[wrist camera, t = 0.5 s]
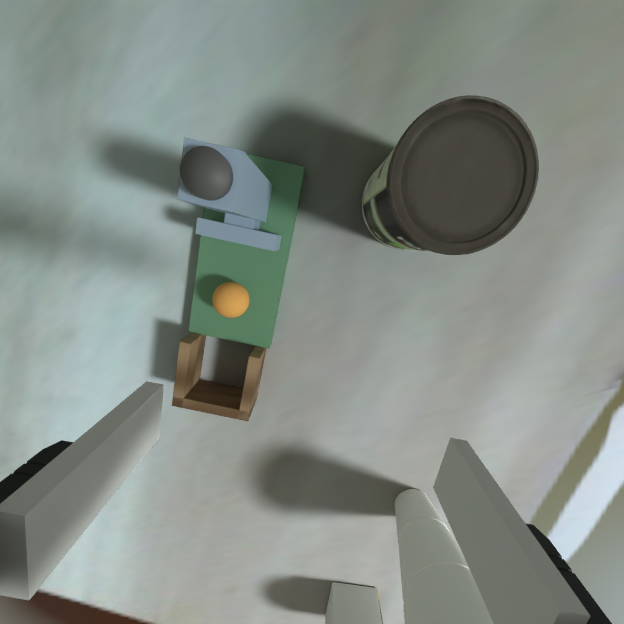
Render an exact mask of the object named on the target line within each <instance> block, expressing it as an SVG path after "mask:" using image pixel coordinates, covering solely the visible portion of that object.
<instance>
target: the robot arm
mask: <svg viewBox="0 0 624 624" xmlns="http://www.w3.org/2000/svg"><path fill="white" fill-rule="evenodd" d="M163 386H164V385H163V384H158V383H152V382H147V381H146V382H145V383H144V384H143V385H142V386H141V387H139V388H138V389H137V390H136V391H135V392H133V393H132V394H131V395H130V396H129V397H127V398H126V399H125V400H124V401H123V402H121V403H120V404H119V405H118V406H117V407H115V408H114V409H113V410H112V411H111V412H109V413H108V414H107V415H106V416H105V417H103V418H102V419H101V420H100V421H99V422H98V423H96V424H95V425H94V426H93V427H92V428H90V429H89V430H88V431H87V432H86V433H84V434H83V435H82V436H81V437H80V438H78V439H77V440H76V441H75V442H74V443H73V442H68V441H60V442H57V443H55V444H53V445H51V446H49V447H47V448H45V449H43V450H41V451H40V452H39V453H38V454H36V455H35V456H34V457H32V458H31V459H30V460H28V461H27V463H26V464H23V465H22V466H21V467H19V468H18V469H17V470H15V471H14V473H13V474H10V475H9V476H8V477H6V478H5V479H4V480H2V481H1V482H0V595H3V596H8V597H14V598H20V599H25V600H30V599H31V597H32V596H33V595H34V594H35V592H36V591H37V590H38V589H39V587H40V586H41V585H42V584H43V582H44V581H45V580H46V579H47V577H48V576H49V575H50V574H51V572H52V571H53V570H54V569H55V567H56V566H57V565H58V564H59V562H60V561H61V560H62V559H63V557H64V556H65V555H66V554H67V552H68V551H69V550H70V549H71V547H72V546H73V545H74V544H75V542H76V541H77V540H78V539H79V537H80V536H81V535H82V534H83V532H84V531H85V530H86V529H87V527H88V526H89V525H90V524H91V522H92V521H93V520H94V519H95V517H96V516H97V515H98V514H99V512H100V511H101V510H102V509H103V507H104V506H105V505H106V504H107V502H108V501H109V500H110V499H111V497H112V496H113V495H114V494H115V492H116V491H117V490H118V489H119V487H120V486H121V485H122V484H123V482H124V481H125V480H126V479H127V477H128V476H129V475H130V474H131V472H132V471H133V470H134V469H135V467H136V466H137V465H138V464H139V462H140V461H141V460H142V459H143V457H144V456H145V455H146V454H147V452H148V451H149V450H150V449H151V447H152V446H153V445H154V444H155V442H156V441H157V440H158V439H159V437H160V424H161V411H162V398H163ZM433 488H434V490H435V492H436V495H437V497H438V499H439V501H440V504H441V506H442V508H443V510H444V513H445V515H446V517H447V519H448V522H449V524H450V526H451V528H452V531H453V533H454V535H455V537H456V540H457V542H458V544H459V547H460V549H461V551H462V553H463V556H464V558H465V560H466V562H467V565H468V567H469V569H470V571H471V574H472V576H473V578H474V580H475V583H476V585H477V587H478V589H479V592H480V594H481V596H482V598H483V601H484V603H485V605H486V607H487V610H488V612H489V614H490V616H491V619H492V621H493V623H494V624H612V623H611V622H610V621H609V619H608V618H607V617H606V615H605V614H604V613H603V611H602V610H601V609H600V607H599V606H598V604H597V603H596V602H595V601H594V599H593V598H592V597H591V595H590V594H589V593H588V591H587V590H586V589H585V587H584V586H583V585H582V583H581V582H580V580H579V579H578V578H577V576H576V575H575V574H574V573H572V570H571V568H570V567H569V566H568V564H567V563H566V562H565V560H564V559H562V558H561V555H560V554H559V552H558V551H557V550H556V548H555V547H554V546H553V544H552V543H551V542H550V540H549V539H548V538H547V537H546V536H544V535H543V534H542V533H541V532H540V531H539V530H538V529H537V528H536V527H535V526H534V525H531V524H525V522H524V521H523V520H522V518H521V517H520V515H519V514H518V513H517V511H516V510H515V508H514V507H513V505H512V504H511V503H510V501H509V500H508V498H507V497H506V496H505V494H504V493H503V491H502V490H501V488H500V487H499V486H498V484H497V483H496V481H495V480H494V479H493V477H492V476H491V474H490V473H489V471H488V470H487V469H486V467H485V466H484V464H483V463H482V462H481V460H480V459H479V457H478V456H477V455H476V453H475V452H474V450H473V449H472V447H471V446H470V445H469V443H468V442H467V441H465V440H460V439H454V438H450V440H449V443H448V446H447V449H446V452H445V455H444V458H443V461H442V463H441V466H440V469H439V472H438V475H437V478H436V481H435V484H434V487H433Z"/></svg>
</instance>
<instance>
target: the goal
mask: <svg viewBox="0 0 624 624" xmlns="http://www.w3.org/2000/svg"><path fill="white" fill-rule="evenodd" d="M205 339H206V335H202V334H198V333H193V332H192V333H191V334H190V335H188V336H187V337H185V338H184V339H183V340H181V341H180V343H179V352H178V360H177V368H176V376H175V384H174V392H173V400H172V406H176V407H181V408H186V409H191V410H196V411H201V412H205V413H210V414H215V415H220V416H225V417H230V418H234V419H239V420H244V421H248V420H249V417H250V415H251V412H252V410H253V407H254V405H255V402H256V399H257V394H258V389H259V384H260V379H261V374H262V368H263V363H264V358H265V353H266V348H263V347H259V346H255V348H254V349H253V351H252V352H251V354H250V356H249V360H248V365H247V371H246V377H245V382H244V388H238V387H233V386H228V385H224V384H219V383H214V382H209V381H205V380H200V374H201V367H202V360H203V353H204V346H205Z"/></svg>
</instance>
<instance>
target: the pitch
mask: <svg viewBox="0 0 624 624" xmlns="http://www.w3.org/2000/svg"><path fill="white" fill-rule="evenodd" d="M246 155H247V156H248V157H249V158H250V159H251V160H252V162H253V163H254V164H255V165H256V166H257V167H258V169H259V170H260V171H261V172H262V173H263V174H264V176H265V177H266V178H267V179H268V180H269V181H270V183H271V184H272V191H271V196H270V202H269V208H268V214H267V219H266V223H265V222H260V228H259V231H263V232H268V233H272V234H277V235H281V236H282V238H281V243H280V248H279V250H277V251H271V250H266V249H262V248H257V247H253V246H248V245H244V244H239V243H235V242H230V241H226V240H221V239H217V238H212V237H207V236H203V235H201V238H200V245H199V253H198V261H197V269H196V276H195V284H194V292H193V300H192V308H191V315H190V323H189V331H188V332H193V333H198V334H202V335H207V336H212V337H216V338H221V339H226V340H230V341H235V342H240V343H245V344H249V345H254V346H259V347H263V348H268V349H269V348H270V346H271V343H272V337H273V332H274V327H275V322H276V317H277V312H278V307H279V302H280V297H281V291H282V286H283V281H284V276H285V271H286V266H287V261H288V256H289V251H290V245H291V240H292V235H293V230H294V225H295V220H296V215H297V210H298V205H299V200H300V194H301V189H302V184H303V179H304V174H305V167H303V166H298V165H294V164H289V163H285V162H281V161H276V160H272V159H267V158H263V157H259V156H254V155H250V154H246ZM203 219H209V220H214V221H218V222H223V223H224V219H225V213H223V212H219V211H216V210H212V209H208V208H205V207H204V214H203ZM226 282H235V283H238V284H240V285H242V286H243V287H244V288H245V289H246V290H247V292H248V294H249V306H248V308H247V310H246V311H245V312H244V313H243V314H242V315H240V316H238V317H235V318H227V317H224V316H222V315H220V314H219V313H218V312H217V311H216V310H215V308H214V306H213V302H212V298H213V294H214V291H215V290H216V288H217V287H218V286H220V285H221V284H223V283H226Z"/></svg>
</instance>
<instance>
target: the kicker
mask: <svg viewBox="0 0 624 624" xmlns="http://www.w3.org/2000/svg"><path fill="white" fill-rule="evenodd" d="M271 191H272V184H271V183H270V181H269V180H268V179H267V178H266V177H265V176H264V174H263V173H262V172H261V171H260V170H259V169H258V167H257V166H256V165H255V164H254V163H253V162H252V160H251V159H250V158H249V157H248V156H247V155H246V153H245V152H244V151H242V150H237V149H233V148H228V147H224V146H220V145H215V144H211V143H206V142H202V141H198V140H193V139H189V138H185V137H184V144H183V153H182V161H181V164H180V180H179V190H178V199H177V200H180V201H184V202H187V203H191V204H194V205H198V206H201V207H205V208H208V209H212V210H216V211H219V212H223V213H225V219H224V223H223V222H218V221H214V220H209V219H203V218H198V217H197V224H196V232H195V234H198V235H203V236H207V237H212V238H217V239H221V240H226V241H230V242H235V243H239V244H244V245H248V246H253V247H257V248H262V249H266V250H271V251H277V250H279V248H280V243H281V238H282V236H281V235H277V234H272V233H268V232H263V231H259V228H260V222H265V223H266V219H267V214H268V208H269V202H270V196H271Z"/></svg>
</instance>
